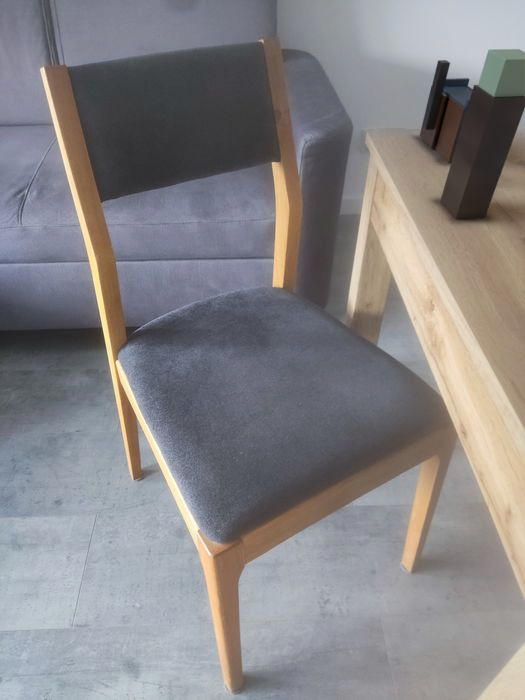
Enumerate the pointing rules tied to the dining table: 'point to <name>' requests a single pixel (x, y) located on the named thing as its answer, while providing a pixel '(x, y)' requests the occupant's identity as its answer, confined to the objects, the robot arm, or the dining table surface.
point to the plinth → (481, 153)
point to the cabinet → (452, 116)
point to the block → (504, 73)
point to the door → (435, 104)
